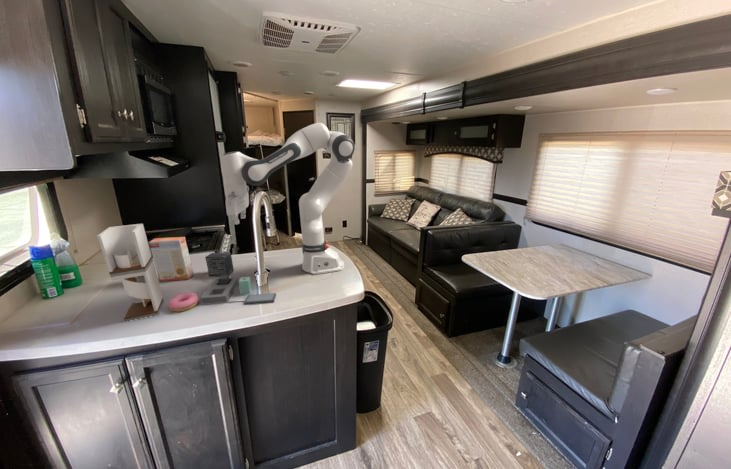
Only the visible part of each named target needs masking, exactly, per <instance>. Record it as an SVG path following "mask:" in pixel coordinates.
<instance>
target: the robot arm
mask: <svg viewBox="0 0 731 469" xmlns="http://www.w3.org/2000/svg"><path fill="white" fill-rule="evenodd" d="M320 149H324V150H325V151H326V152H328V153H329V154H330V155H331V158H330V161H329V163H328V164H327V166H326V167H324V169H323V171H322V172H321V173H320V174H319V176H318V177H317V178H316V180H315V181H314V183H313V185H312V186H311V188H310V189H309V191H308V192H306V193H304V194H302V195H301V196H300V198H299V200H298V207H299V218H300V220H299V221H300V227H301V240H302V242H301V250H302V255H303V256H302V266H301V270H303V271H304V272H306V273H310V274H311V275H321V274H327V273H333V272H341V271H343V269H344V268H345V263H344V262H345V261H344V260H343V259H341V258H340V256H339V253H338V252H337V251H336V250H334V249H332V248H330V244H329V242H328V241H327V240H325V236H324V234H325V233H324V224H323V223H324V222H323V216H322V214H323V212H324V211H325V210H326V208H327V207H328V204H329V203H330V202H331V200H332V198H333V197H334V195H335V194H336V193H337V191H338V190H339V188H340V187H341V186H342V184H343V183H344V181H346V179H347V178H348V176H349V175H350V172H351V171H352V168H353V161H352V159H353V155H354V152H355V150H356V147H355V142H354V140H353V139H352V137H350V136H349V135H346V133H343V132H341V131H338V130H335V129H334V130H333V129H331V130H330V129H329V128H328V126H326V124H324V123H322V122H315V123H312V124H309V125H307V126H306V127H303V128H300V129H298V130H297V131H296V132H294V133H293V134H292V135H290V137H288V138H287V140H286V141H285V143H284V145H282V147H281V148H279V149H278V150H276V151H274V152H273V153H271V154H269V155H268V156H266V157H265V158H262V159H257V158H254V157H250V156H248V155H246V154H244V153H242V152H241V151H237V150H235V151H229V152H225V153H224V154H222V155H221V158H220V166H221V167H220V168H221V174H222V176H223V187H224V195H225V196H227V197H226V198H225V209H226V210H225V211H226V216H228V217H231V218H232V220H233V224H234V225H239V224H240V219H241V220H242V219H244V220H245V219H246V213H247V212H246V211H247V210H246V209H247V208H248V207H249V204H250V198H249V192H250V188H249V185H250V186H255V187H258V186H262V185H264V184H265V183H266V182H267V181H268V179H269V177H270V176H271V175H272V174H274V172H276V171H277V170H279V169H281V168H283V167H284V166H285V165H287V164H290V163H291V162H293V161H296V160H299V159H302V158H306V157H308V156H310V155H312V154H313V153H315V152H317V151H318V150H320ZM247 184H248V185H247ZM239 214H240V219H239Z"/></svg>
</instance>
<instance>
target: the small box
mask: <svg viewBox="0 0 731 469" xmlns="http://www.w3.org/2000/svg"><path fill="white" fill-rule="evenodd" d="M204 258H205V263H206V266H207V272H208V276H210V277H211V276H212V277H216V276H217V277H220V276H221V275H229V276H230V275H231V274H232V273H233V271H235V270H234V264H233V258H232V253H231V252H211V253H209V254H208V255H207V256H205V257H204Z"/></svg>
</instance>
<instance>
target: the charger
mask: <svg viewBox="0 0 731 469" xmlns="http://www.w3.org/2000/svg"><path fill="white" fill-rule="evenodd" d="M238 282H239V284H238V287H239V292H240V295H251V293H252V290H253V286H252V280H251V276H240V278H239V281H238Z"/></svg>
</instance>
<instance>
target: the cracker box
mask: <svg viewBox="0 0 731 469" xmlns="http://www.w3.org/2000/svg"><path fill="white" fill-rule="evenodd" d="M186 240H187V239H186V237H185V236H178V237H177V236H176V237H158V238H157V237H156V238H153V239H152V240H150V241H148V244H149V248H150V252H151V255H152V259H153V263H154V266H155V270H156V273H157V277H158V281H159V282H166V281H181V280H190V278H192V277H193V276H194V270H193V266H192V262H191V258H190V254H189V248H188V245H187V244H188V243H187V241H186Z"/></svg>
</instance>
